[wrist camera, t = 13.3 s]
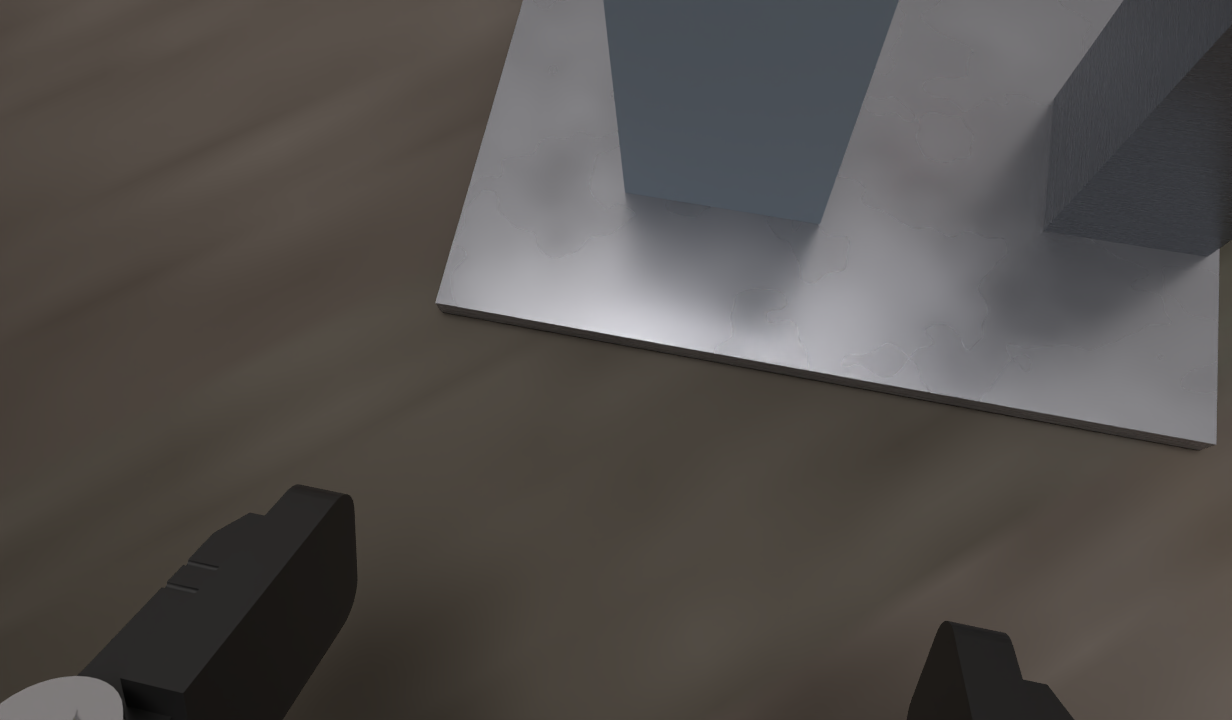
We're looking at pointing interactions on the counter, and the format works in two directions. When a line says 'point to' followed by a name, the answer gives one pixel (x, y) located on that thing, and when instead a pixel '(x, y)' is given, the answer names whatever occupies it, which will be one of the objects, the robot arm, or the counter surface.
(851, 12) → the block
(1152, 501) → the counter surface
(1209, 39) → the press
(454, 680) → the counter surface
